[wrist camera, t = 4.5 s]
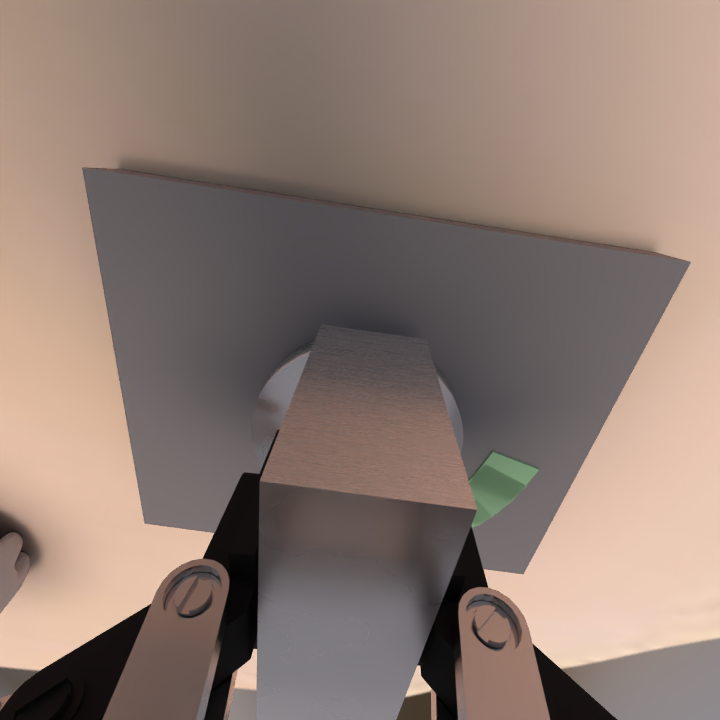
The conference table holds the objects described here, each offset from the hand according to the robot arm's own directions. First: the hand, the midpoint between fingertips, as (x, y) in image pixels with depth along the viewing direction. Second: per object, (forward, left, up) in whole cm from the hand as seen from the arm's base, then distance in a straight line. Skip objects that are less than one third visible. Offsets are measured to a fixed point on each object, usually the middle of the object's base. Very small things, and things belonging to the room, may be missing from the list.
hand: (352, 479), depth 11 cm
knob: (+1, 0, -2) cm, 3 cm away
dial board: (0, 0, -4) cm, 4 cm away
